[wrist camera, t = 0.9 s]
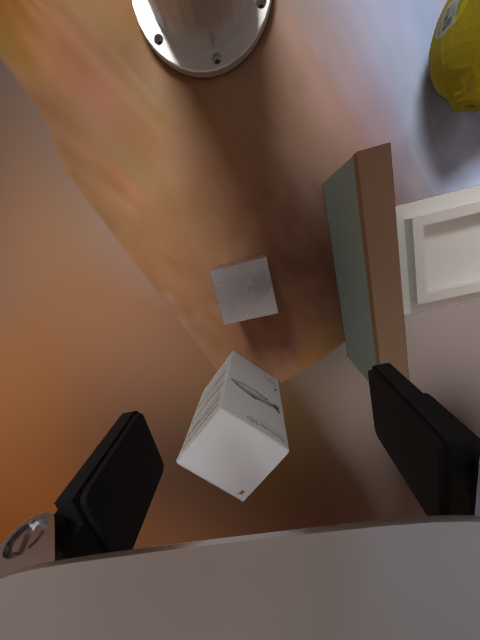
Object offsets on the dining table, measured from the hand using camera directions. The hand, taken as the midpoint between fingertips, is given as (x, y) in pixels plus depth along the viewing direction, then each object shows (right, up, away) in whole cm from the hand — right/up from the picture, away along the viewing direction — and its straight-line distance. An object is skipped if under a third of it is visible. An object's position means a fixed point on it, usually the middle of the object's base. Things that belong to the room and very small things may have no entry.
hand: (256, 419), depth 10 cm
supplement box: (-1, -4, +24) cm, 24 cm away
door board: (+11, +9, +19) cm, 24 cm away
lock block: (0, +9, +20) cm, 22 cm away
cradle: (+22, +11, +18) cm, 30 cm away
